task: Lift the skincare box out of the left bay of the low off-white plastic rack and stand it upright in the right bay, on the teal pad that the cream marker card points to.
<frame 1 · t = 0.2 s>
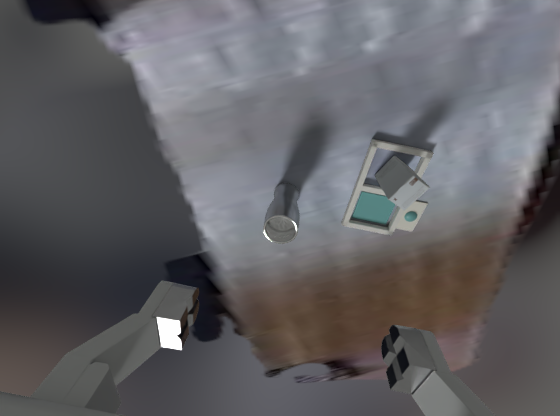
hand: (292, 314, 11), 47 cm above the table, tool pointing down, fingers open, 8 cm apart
beer glass: (286, 193, 61), on the table
rack: (381, 189, 58), on the table
skincare box: (390, 169, 56), resting in rack
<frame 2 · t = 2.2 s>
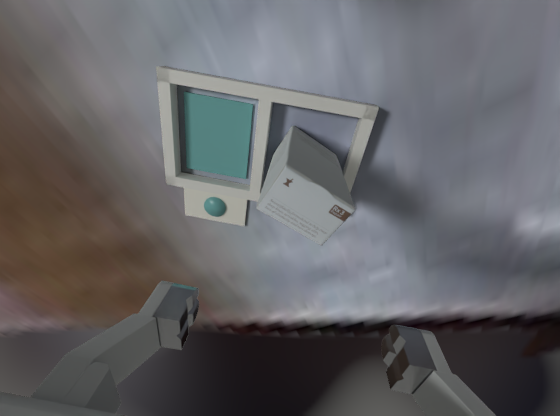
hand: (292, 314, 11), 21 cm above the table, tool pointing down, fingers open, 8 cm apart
rack: (261, 146, 28), on the table
skincare box: (306, 154, 28), resting in rack
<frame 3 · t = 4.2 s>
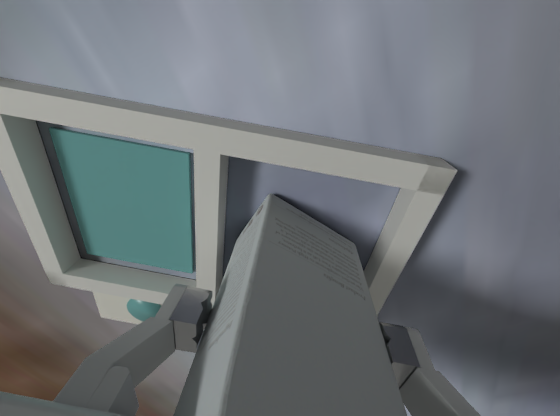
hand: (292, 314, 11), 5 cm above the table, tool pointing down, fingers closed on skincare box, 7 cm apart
rack: (215, 224, 15), on the table
skincare box: (298, 238, 15), resting in rack, touching gripper
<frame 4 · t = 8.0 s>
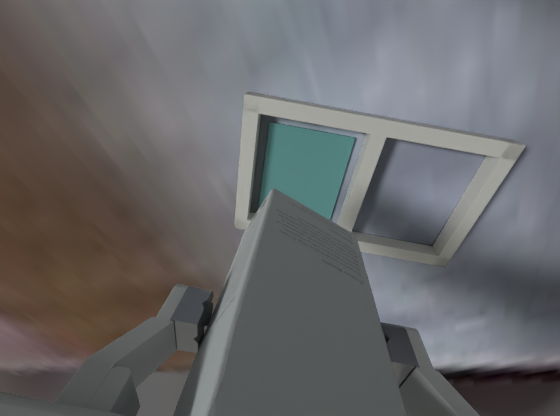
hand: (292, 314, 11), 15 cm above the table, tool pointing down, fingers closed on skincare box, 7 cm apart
rack: (356, 185, 23), on the table
skincare box: (301, 231, 16), point 9 cm above the table, touching gripper
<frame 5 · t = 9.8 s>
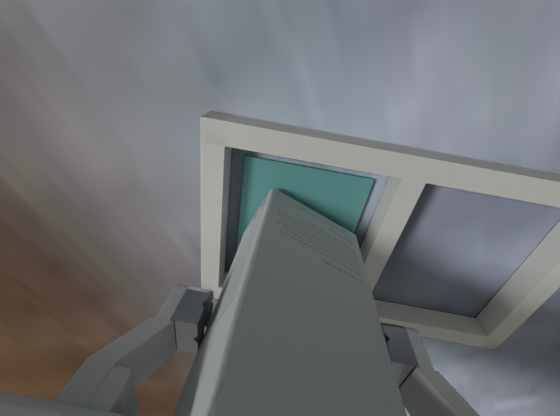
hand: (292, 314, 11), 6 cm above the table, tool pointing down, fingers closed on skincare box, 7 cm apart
rack: (372, 241, 16), on the table
skincare box: (301, 231, 16), resting on rack, touching gripper
when the fingers open (6 cm above the table, at t = 10.4 s): skincare box stays where it is, resting on rack.
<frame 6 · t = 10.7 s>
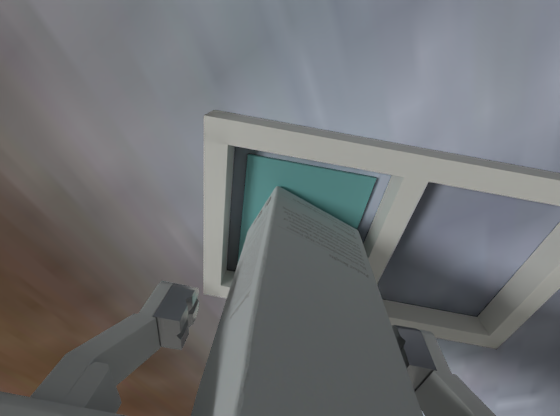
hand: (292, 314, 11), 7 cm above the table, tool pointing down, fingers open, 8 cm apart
rack: (374, 240, 16), on the table
skincare box: (304, 227, 16), resting on rack
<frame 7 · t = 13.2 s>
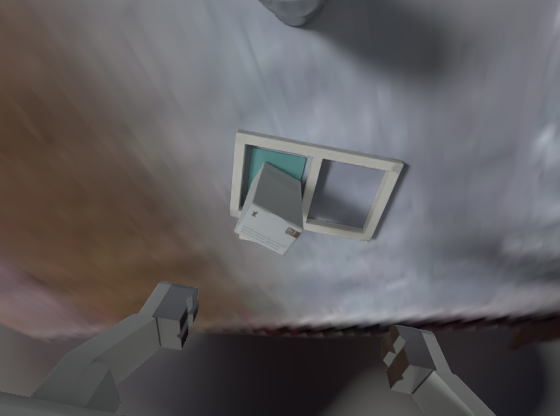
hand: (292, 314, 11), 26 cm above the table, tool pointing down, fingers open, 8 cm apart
rack: (309, 187, 36), on the table
skincare box: (277, 181, 36), resting on rack
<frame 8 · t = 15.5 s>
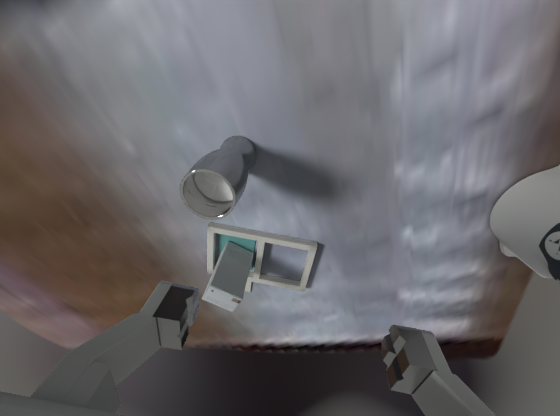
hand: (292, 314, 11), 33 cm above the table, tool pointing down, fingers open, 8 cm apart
beer glass: (238, 153, 43), on the table
rack: (260, 255, 53), on the table
skincare box: (238, 251, 53), resting on rack
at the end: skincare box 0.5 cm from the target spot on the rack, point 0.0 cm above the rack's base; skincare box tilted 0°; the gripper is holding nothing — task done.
